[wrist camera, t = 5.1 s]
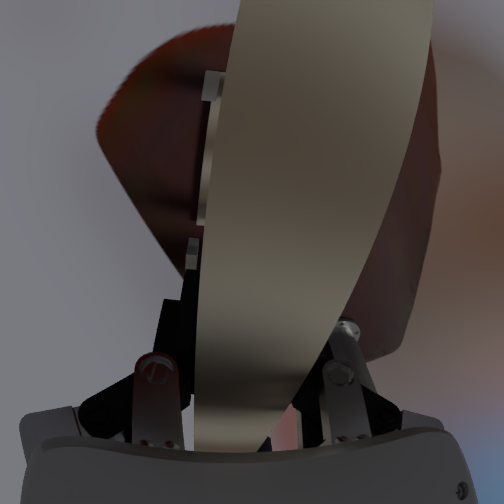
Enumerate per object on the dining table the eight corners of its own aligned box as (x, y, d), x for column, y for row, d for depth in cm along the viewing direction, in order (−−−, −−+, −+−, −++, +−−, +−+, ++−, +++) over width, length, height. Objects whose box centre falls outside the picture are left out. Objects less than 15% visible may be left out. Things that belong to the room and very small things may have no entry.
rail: (238, 434, 18) (240, 472, 15) (194, 432, 17) (194, 470, 14) (369, -26, 4) (433, -58, 1) (258, -58, 4) (276, -118, 1)
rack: (241, 226, 39) (249, 287, 28) (195, 221, 38) (184, 281, 27) (269, 79, 28) (293, 74, 18) (215, 71, 27) (207, 60, 16)
